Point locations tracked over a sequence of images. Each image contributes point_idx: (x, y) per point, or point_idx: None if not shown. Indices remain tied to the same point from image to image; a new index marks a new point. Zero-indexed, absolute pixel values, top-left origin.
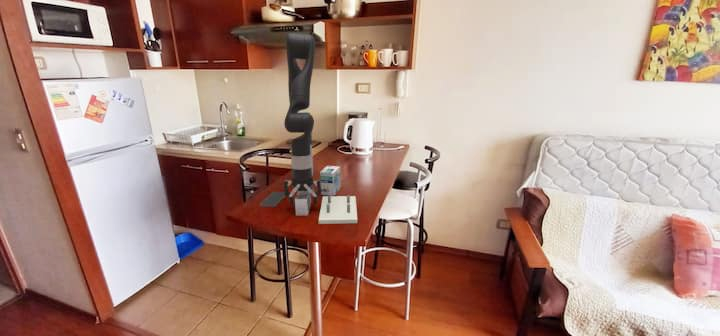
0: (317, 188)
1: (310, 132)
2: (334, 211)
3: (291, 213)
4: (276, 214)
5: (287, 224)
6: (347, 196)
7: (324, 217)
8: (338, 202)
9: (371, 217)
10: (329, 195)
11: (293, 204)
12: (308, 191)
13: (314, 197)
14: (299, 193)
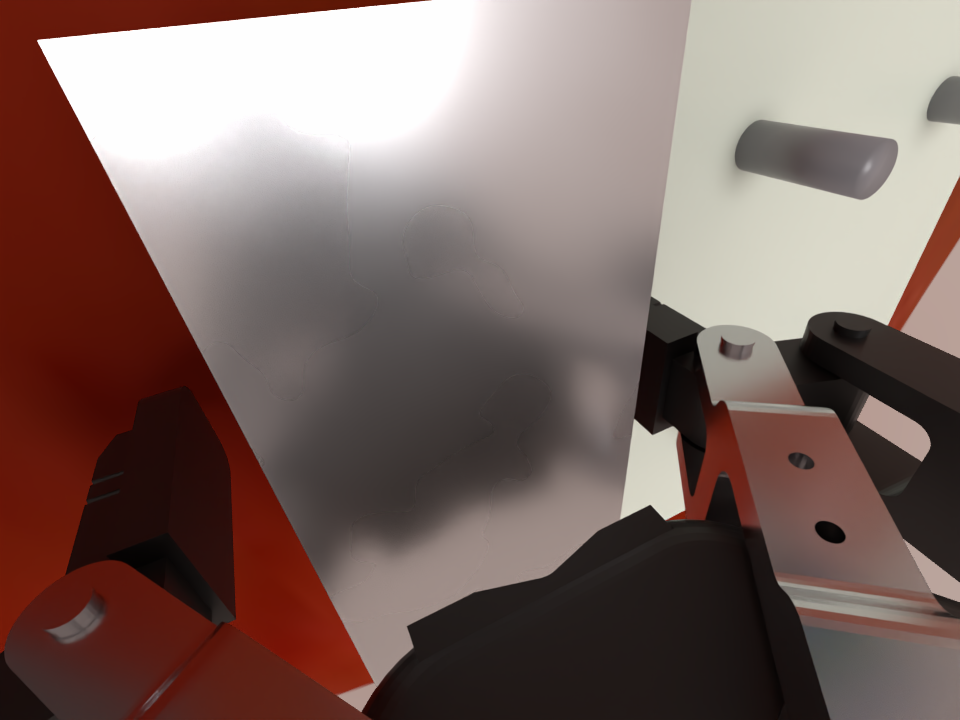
0: (908, 539)
1: None
2: None
3: (251, 489)
4: (22, 597)
5: (340, 641)
6: None
7: (652, 500)
8: (850, 121)
9: (911, 310)
10: (883, 155)
11: (225, 469)
12: (618, 400)
13: (666, 420)
14: (411, 593)
